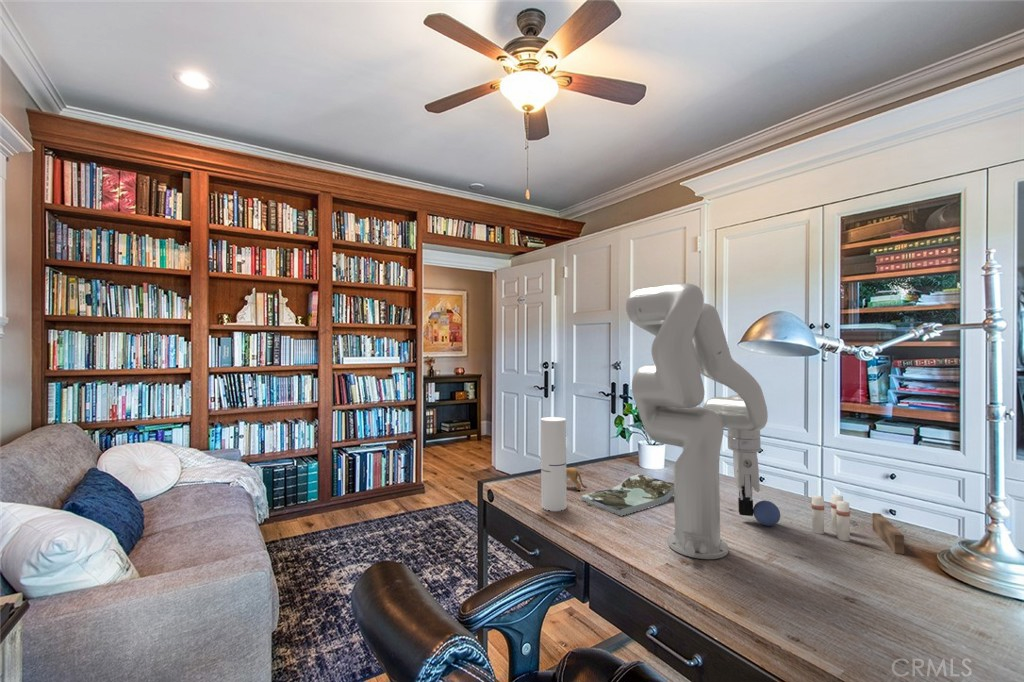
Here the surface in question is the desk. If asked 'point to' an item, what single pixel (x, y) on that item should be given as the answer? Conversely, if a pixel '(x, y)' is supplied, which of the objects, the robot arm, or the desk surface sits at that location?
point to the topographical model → (632, 495)
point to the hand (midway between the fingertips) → (745, 514)
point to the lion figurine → (574, 477)
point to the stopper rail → (888, 533)
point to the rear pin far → (834, 510)
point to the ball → (766, 513)
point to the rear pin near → (843, 521)
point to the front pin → (817, 514)
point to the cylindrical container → (553, 463)
